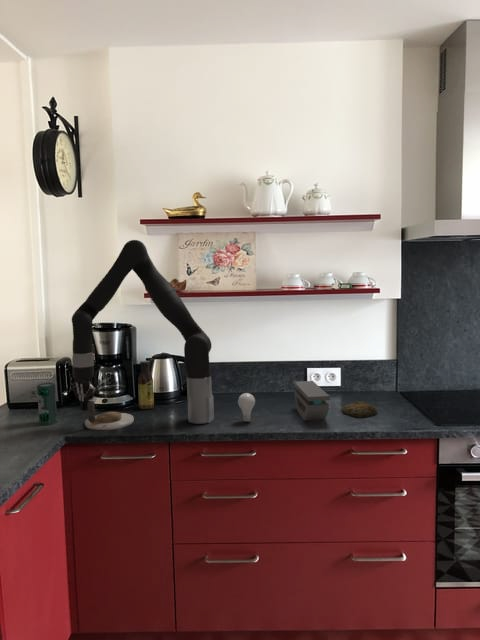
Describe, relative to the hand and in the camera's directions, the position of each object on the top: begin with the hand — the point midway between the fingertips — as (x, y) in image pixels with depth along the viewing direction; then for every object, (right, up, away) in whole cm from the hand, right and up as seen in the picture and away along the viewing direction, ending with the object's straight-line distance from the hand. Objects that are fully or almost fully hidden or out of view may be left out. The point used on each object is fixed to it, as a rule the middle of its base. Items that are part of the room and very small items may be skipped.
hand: (84, 410), depth 187 cm
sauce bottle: (+19, -4, +24) cm, 31 cm away
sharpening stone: (+86, -4, +7) cm, 86 cm away
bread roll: (+105, -3, +10) cm, 106 cm away
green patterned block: (-16, -6, +7) cm, 18 cm away
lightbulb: (+61, -5, +2) cm, 61 cm away
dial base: (+8, -6, +5) cm, 11 cm away
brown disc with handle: (+7, -4, +3) cm, 8 cm away
